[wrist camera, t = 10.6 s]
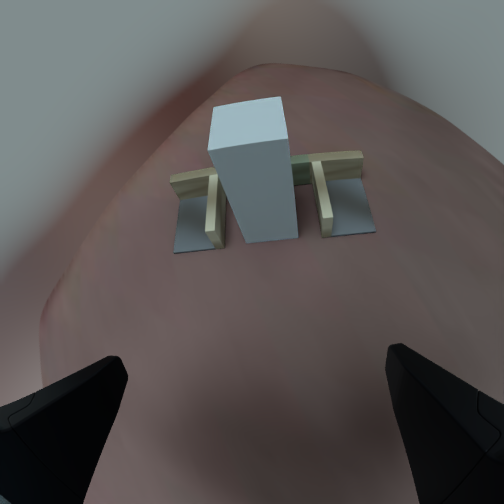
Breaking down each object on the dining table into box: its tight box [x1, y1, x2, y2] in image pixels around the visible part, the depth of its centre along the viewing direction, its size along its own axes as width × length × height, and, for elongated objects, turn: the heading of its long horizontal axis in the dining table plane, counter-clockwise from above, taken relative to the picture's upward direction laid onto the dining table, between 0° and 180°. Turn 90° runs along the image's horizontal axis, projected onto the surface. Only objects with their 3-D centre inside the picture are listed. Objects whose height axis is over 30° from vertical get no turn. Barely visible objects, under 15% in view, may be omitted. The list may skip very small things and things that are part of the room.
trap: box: [170, 150, 376, 254], centre depth 25 cm, size 7×18×3 cm, turn 92°
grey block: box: [208, 97, 298, 243], centre depth 21 cm, size 4×4×11 cm
